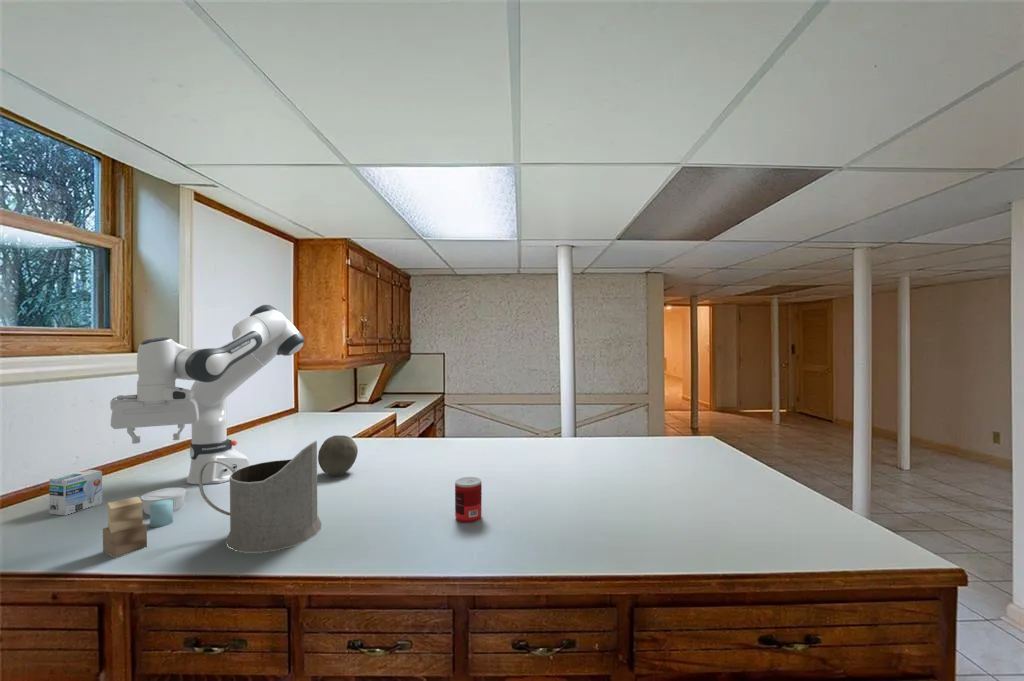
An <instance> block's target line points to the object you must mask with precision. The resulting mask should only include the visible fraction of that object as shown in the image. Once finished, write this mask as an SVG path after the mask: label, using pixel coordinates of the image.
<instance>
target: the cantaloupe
mask: <svg viewBox="0 0 1024 681" xmlns="http://www.w3.org/2000/svg"><path fill="white" fill-rule="evenodd" d="M358 450H359V449H358V446H357V444H356V442H355V441H354V439H352V438H351V437H350V436H347V435H332V436H330V437H328V438H327V439H325V440H324V441H323V443H322V444H321V446H320V448H319V449H318V453H317V463H318V466H319V467H320V469H321V471H323V473H325V474H327V475H331V476H333V477H338V476H341V475H344V474H345V473H347V472H348V471H349V470H350V469H351V468H352V466H353V465H354V464H355V462H356V460H357V456H358Z"/></svg>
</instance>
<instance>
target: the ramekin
mask: <svg viewBox="0 0 1024 681" xmlns="http://www.w3.org/2000/svg"><path fill="white" fill-rule="evenodd" d="M186 494H187V490H186V488H185V487H178V486H177V487H166V488H165V487H164V488H160V489H156V490H152V491H149V492H146V493H145V494H143V495H141V496H140V498H139V499H140V500H141V501H142V510H143V513H144V514H146V515H147V514H148V515H147V516H150V504H151V503H153V502H156V501H160V500H173V511H174V512H176V511H178V510H180V509H181V508H182V507H183V506H184V502H185V497H186Z"/></svg>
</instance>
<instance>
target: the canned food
mask: <svg viewBox="0 0 1024 681" xmlns="http://www.w3.org/2000/svg"><path fill="white" fill-rule="evenodd" d="M482 487H483V486H482V479H480V478H479V477H474V476H465V477H460V478H458V479H456V480H455V482H454V506H455V507H454V514H455V515H454V516H455V520H456V521H458V522H460V523H466V524H467V523H468V524H469V523H475V522H478V521H479V520H480V519H481V517H482V502H483V501H482V494H483V492H482Z"/></svg>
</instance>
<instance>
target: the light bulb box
mask: <svg viewBox="0 0 1024 681" xmlns="http://www.w3.org/2000/svg"><path fill="white" fill-rule="evenodd" d="M48 479H49V478H48ZM48 481H49V482H48V483H49V485H48V486H49V488H48V489H49V494H48V495H49V496H48V497H49V515H50V514H51V515H57V516H68V514H69V515H71V513H72V514H74V512H75V513H77V512H76V511H78V512H80V511H79V510H81V511H83V510H82V509H84V510H86V509H85V508H87V509H89V508H88V507H90V508H92V507H91V506H93V507H95V506H94V505H96V506H98V505H97V504H100V503H102V504H103V471H102V470H94V469H83V470H79V471H76V472H72V473H68V474H64V475H60V476H57V477H53V478H52V477H51V478H50V479H49V480H48ZM100 505H101V504H100Z"/></svg>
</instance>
